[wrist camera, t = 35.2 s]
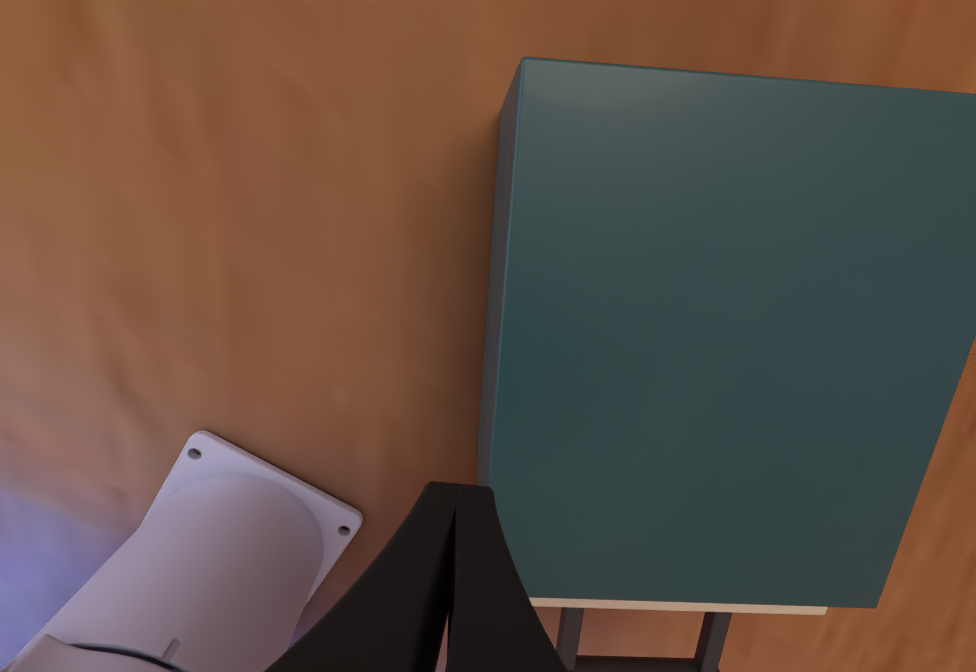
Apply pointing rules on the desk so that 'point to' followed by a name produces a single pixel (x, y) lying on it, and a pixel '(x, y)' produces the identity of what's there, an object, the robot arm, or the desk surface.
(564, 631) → the drawer
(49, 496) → the desk surface
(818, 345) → the cabinet
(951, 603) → the desk surface
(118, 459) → the desk surface
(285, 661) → the robot arm
